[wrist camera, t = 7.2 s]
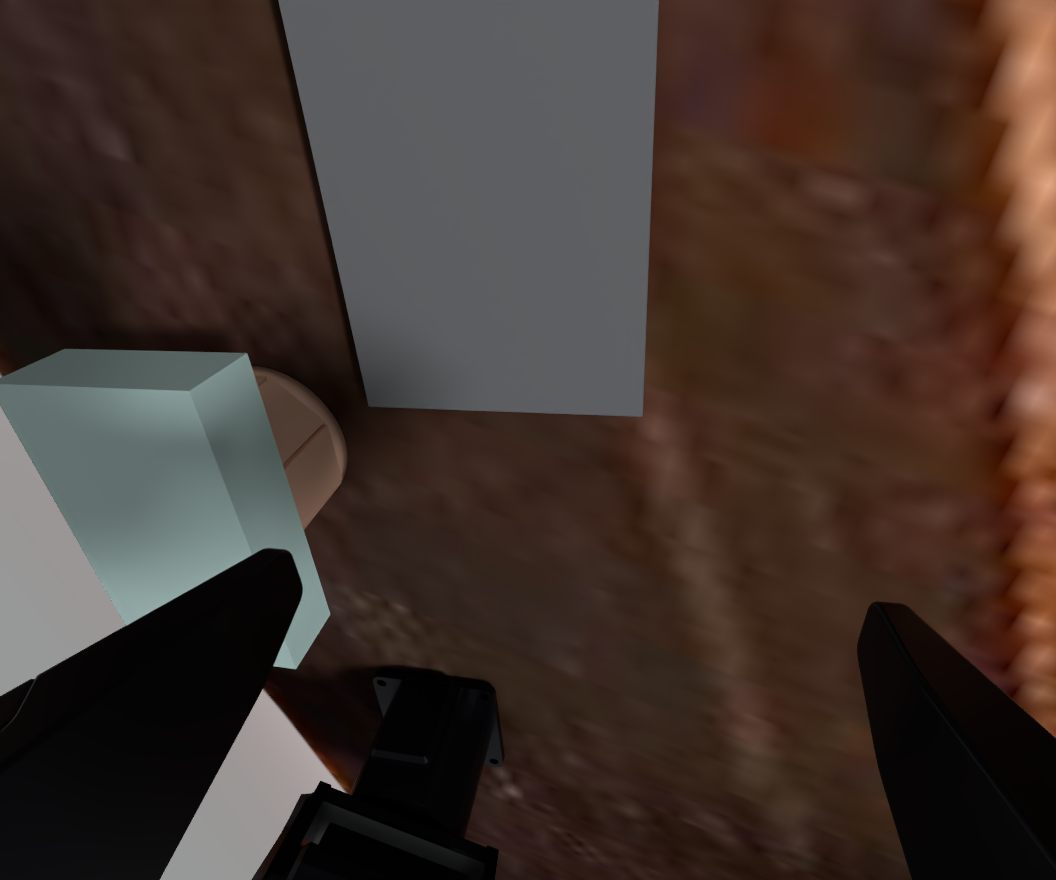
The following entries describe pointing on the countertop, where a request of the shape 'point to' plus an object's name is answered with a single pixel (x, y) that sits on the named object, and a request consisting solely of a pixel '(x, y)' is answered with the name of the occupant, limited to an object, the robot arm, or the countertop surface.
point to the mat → (486, 194)
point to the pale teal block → (163, 472)
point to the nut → (303, 440)
